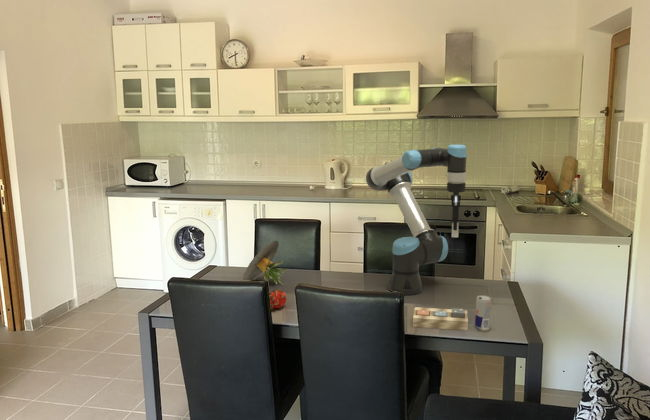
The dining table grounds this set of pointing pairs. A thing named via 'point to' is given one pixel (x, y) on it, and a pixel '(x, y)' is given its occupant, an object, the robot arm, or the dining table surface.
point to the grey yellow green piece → (264, 264)
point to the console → (440, 320)
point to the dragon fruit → (277, 299)
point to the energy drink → (483, 313)
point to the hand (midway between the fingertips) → (454, 236)
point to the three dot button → (440, 313)
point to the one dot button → (423, 312)
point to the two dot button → (457, 313)
